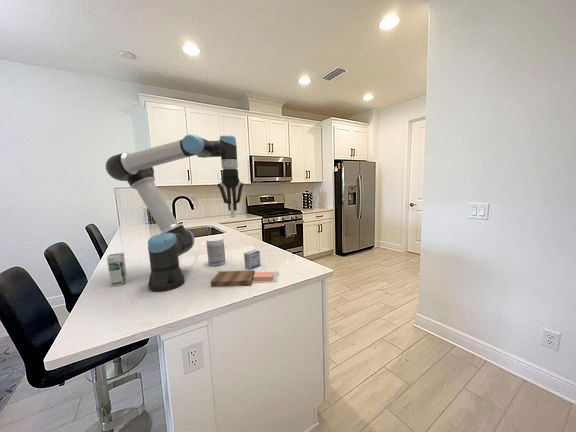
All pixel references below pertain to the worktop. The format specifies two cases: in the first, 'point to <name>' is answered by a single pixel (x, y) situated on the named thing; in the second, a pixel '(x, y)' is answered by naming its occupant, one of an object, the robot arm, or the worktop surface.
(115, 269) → the syrup box
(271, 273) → the card
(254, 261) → the medicine box
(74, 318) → the worktop surface
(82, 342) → the worktop surface
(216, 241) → the supplement tub
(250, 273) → the deck
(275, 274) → the mat
